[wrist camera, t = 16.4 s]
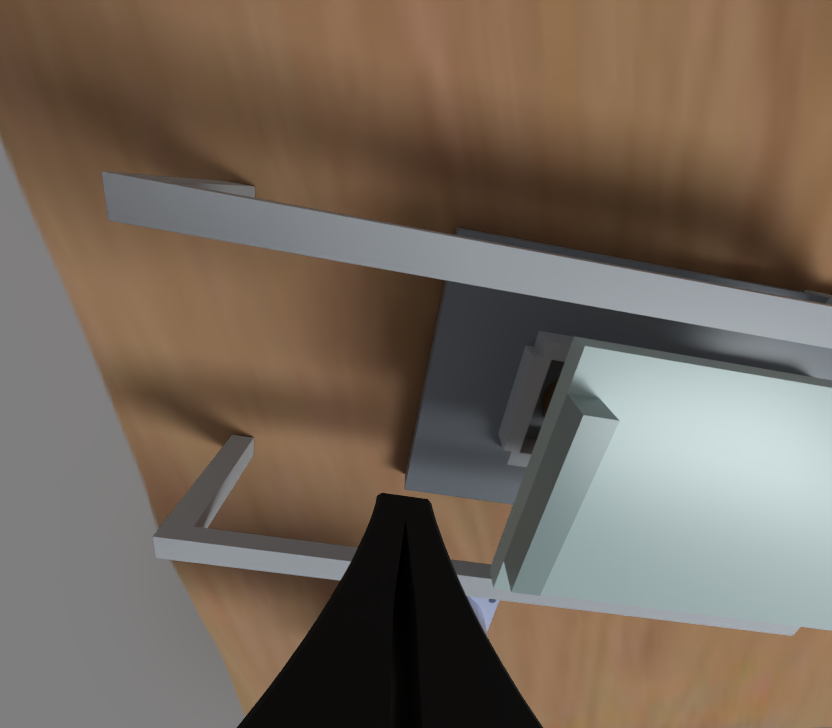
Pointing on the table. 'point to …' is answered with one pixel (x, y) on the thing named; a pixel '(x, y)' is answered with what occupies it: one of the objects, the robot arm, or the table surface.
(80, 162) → the table surface
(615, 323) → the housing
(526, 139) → the table surface
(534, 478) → the lid
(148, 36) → the table surface
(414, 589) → the robot arm
